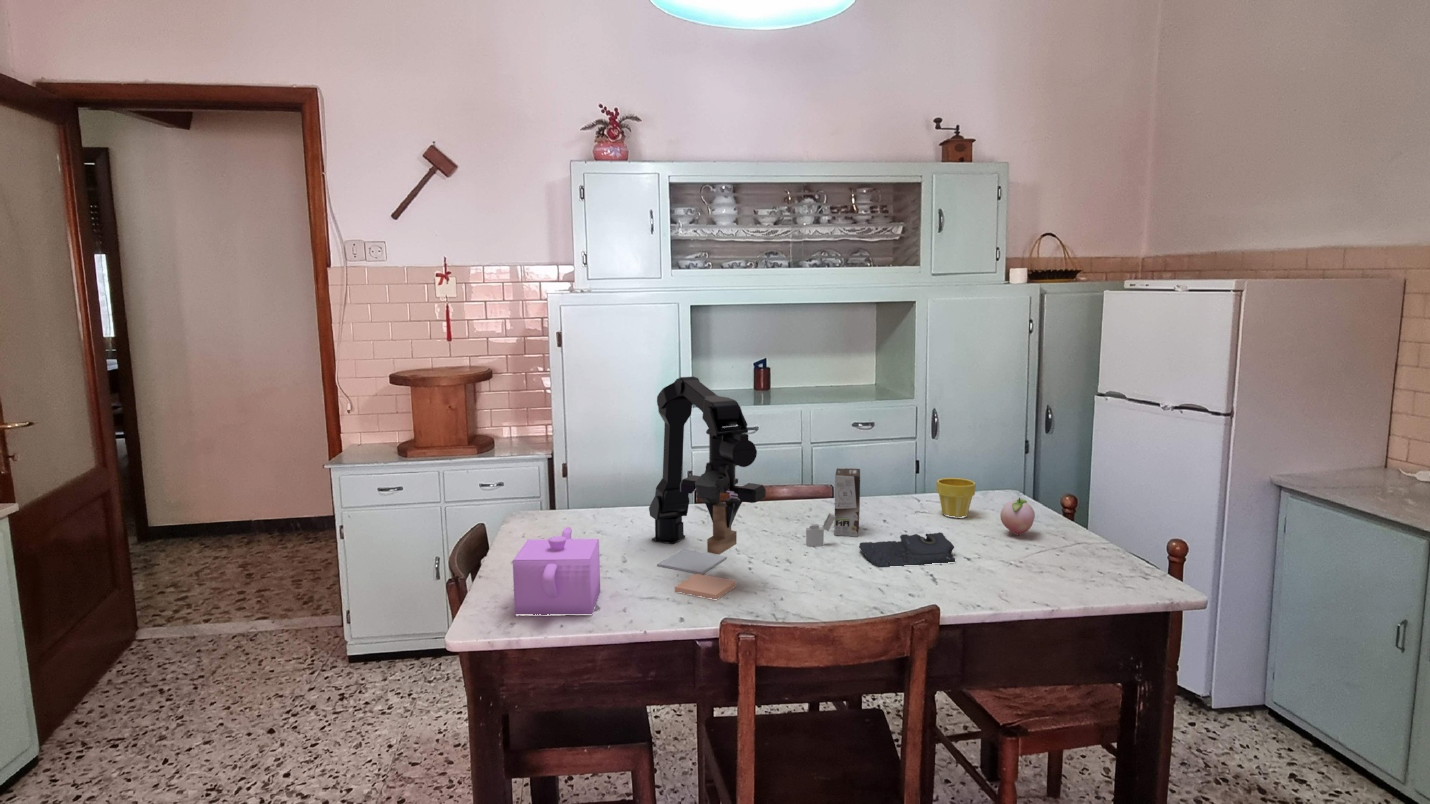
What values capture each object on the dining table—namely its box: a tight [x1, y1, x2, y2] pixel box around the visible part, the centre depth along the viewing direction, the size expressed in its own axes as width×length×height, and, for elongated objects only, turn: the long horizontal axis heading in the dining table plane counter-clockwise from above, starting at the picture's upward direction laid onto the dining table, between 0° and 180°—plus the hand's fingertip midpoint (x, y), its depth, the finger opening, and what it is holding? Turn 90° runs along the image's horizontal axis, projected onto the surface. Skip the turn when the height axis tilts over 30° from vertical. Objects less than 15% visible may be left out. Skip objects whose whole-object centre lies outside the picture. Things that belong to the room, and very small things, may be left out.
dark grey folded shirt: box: [858, 531, 956, 568], centre depth 193 cm, size 15×22×5 cm
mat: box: [656, 548, 728, 575], centre depth 189 cm, size 12×12×1 cm
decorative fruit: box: [1000, 497, 1036, 536], centre depth 207 cm, size 9×8×10 cm
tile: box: [674, 573, 737, 600], centre depth 172 cm, size 10×2×9 cm
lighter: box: [805, 512, 836, 547], centre depth 201 cm, size 7×2×8 cm, turn 95°
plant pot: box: [936, 477, 976, 517], centre depth 226 cm, size 10×10×10 cm
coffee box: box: [833, 467, 861, 538], centre depth 211 cm, size 9×6×16 cm
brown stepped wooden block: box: [706, 501, 738, 555], centre depth 178 cm, size 3×8×10 cm, turn 151°
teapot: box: [512, 526, 601, 615], centre depth 165 cm, size 15×25×14 cm, turn 1°
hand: (722, 526), depth 178 cm, fingers closed on brown stepped wooden block, 3 cm apart
